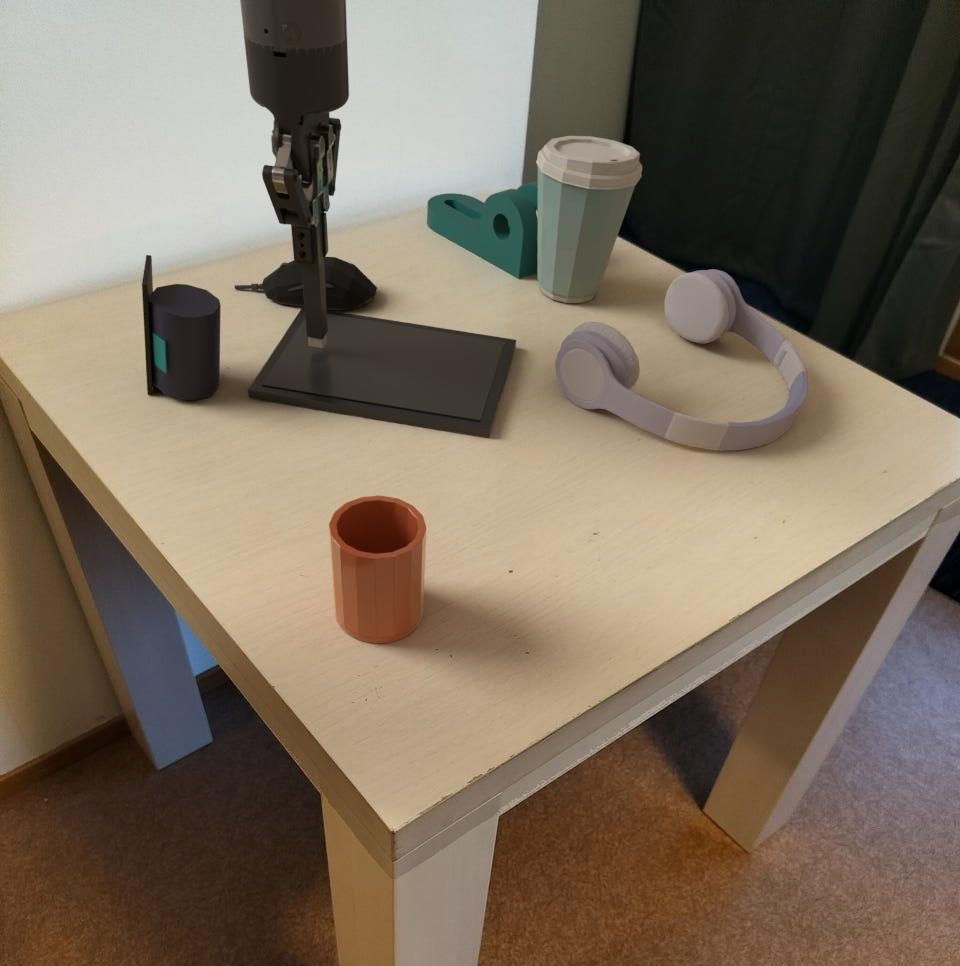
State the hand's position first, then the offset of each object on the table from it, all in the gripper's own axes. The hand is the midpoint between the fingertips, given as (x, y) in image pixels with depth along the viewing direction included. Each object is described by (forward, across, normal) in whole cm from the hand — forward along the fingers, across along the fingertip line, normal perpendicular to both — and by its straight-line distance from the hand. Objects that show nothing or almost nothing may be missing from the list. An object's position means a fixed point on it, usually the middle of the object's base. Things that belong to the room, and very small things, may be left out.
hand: (311, 260), depth 78 cm
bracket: (+10, -31, +11) cm, 34 cm away
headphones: (+10, -5, +36) cm, 38 cm away
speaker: (+10, +7, -10) cm, 16 cm away
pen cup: (+10, +31, +14) cm, 35 cm away
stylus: (+8, 0, 0) cm, 8 cm away
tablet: (+10, 0, +7) cm, 12 cm away
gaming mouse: (+10, -12, -5) cm, 16 cm away
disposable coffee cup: (+10, -22, +22) cm, 33 cm away
